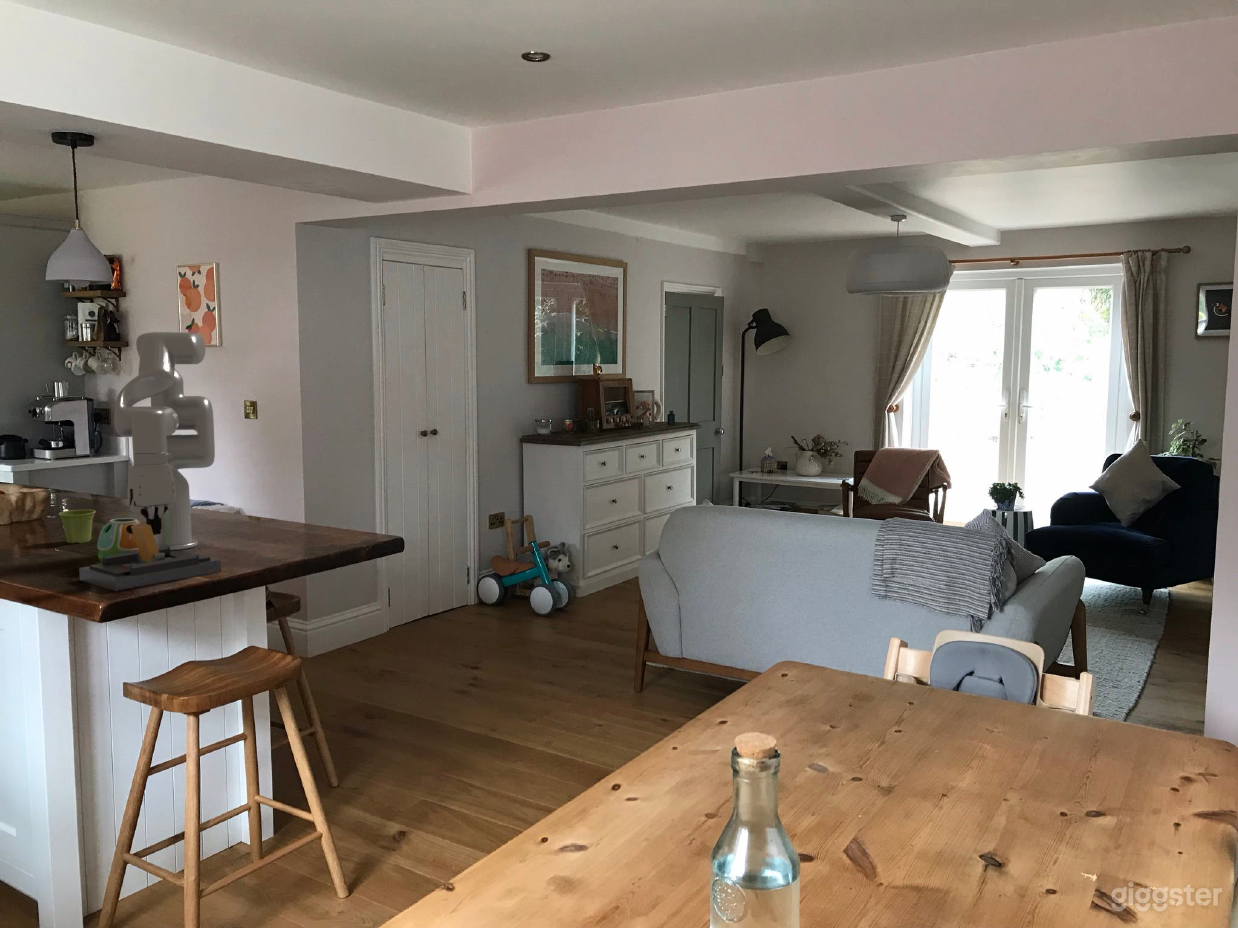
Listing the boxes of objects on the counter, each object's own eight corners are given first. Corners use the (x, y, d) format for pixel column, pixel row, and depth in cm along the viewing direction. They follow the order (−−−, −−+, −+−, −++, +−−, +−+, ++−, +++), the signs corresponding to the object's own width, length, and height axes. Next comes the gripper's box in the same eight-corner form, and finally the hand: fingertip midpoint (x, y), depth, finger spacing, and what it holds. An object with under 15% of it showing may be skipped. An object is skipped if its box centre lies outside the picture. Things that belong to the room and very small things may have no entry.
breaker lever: (140, 560, 242) (129, 526, 239) (150, 556, 244) (139, 522, 241) (153, 563, 239) (142, 528, 236) (162, 559, 240) (151, 525, 238)
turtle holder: (131, 555, 266) (128, 512, 265) (161, 564, 254) (159, 519, 253) (82, 562, 257) (79, 517, 255) (112, 573, 245) (109, 525, 244)
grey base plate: (79, 580, 237) (78, 555, 236) (183, 562, 257) (182, 539, 257) (115, 591, 226) (114, 565, 225) (220, 571, 246) (219, 547, 246)
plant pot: (104, 540, 287) (102, 510, 286) (75, 545, 279) (73, 515, 278) (82, 537, 291) (81, 508, 290) (53, 543, 283) (51, 513, 282)
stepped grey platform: (94, 564, 240) (94, 557, 240) (166, 552, 254) (166, 546, 254) (134, 575, 228) (133, 568, 228) (207, 562, 242) (206, 555, 242)
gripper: (172, 456, 247) (175, 528, 250) (112, 461, 236) (116, 536, 238) (187, 458, 243) (191, 531, 245) (127, 463, 231) (131, 540, 233)
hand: (154, 533), depth 241 cm, fingers closed
